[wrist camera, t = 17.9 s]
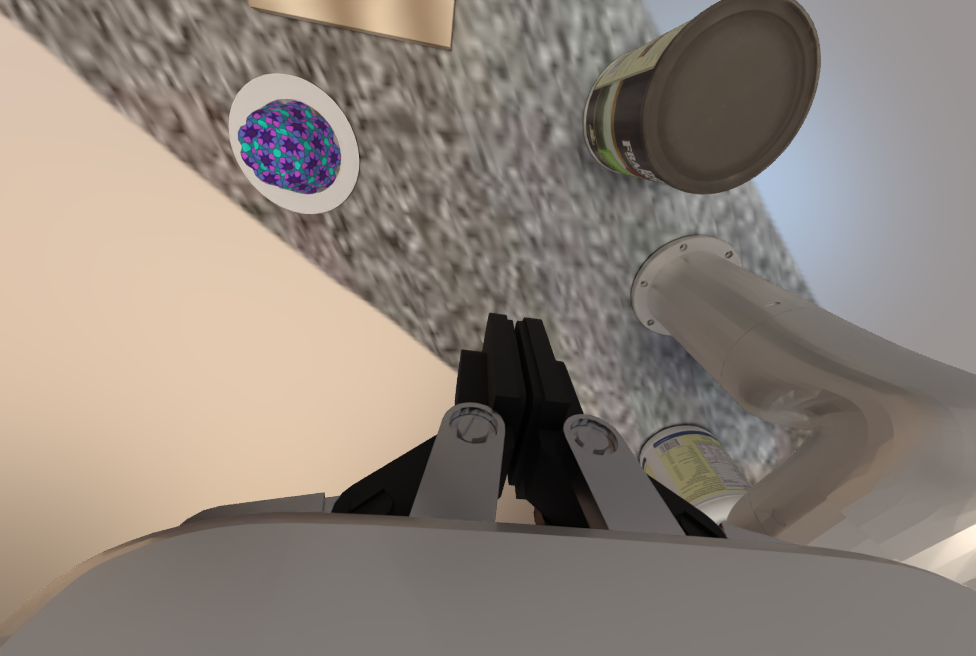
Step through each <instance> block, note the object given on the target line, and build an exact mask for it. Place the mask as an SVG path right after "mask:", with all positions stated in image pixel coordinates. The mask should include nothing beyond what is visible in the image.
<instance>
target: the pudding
mask: <svg viewBox="0 0 976 656" xmlns="http://www.w3.org/2000/svg"><path fill="white" fill-rule="evenodd" d="M277 99H294V100H297V101H301V102H297V101H292V102H290V103H287V104H285V105H284V104H282V103H280V102H278V101H277V102H272V103H269V102H271V101H274V100H277ZM302 102H303V103H305V104H307V105H309V106H311V107H312V108H314V109H315V110H317V111H318V112H319V113H320V114H321V115H322V116H323V117H324V118H325V119H326V120H327V121H326V120H325V119H324V118H321V117H317V116H314V115H313V113H312V111H311V110H310V108H309V107H308V106H307V105H305V104H303V103H302ZM268 103H269V104H268ZM266 104H267V105H266ZM329 124H330V125H329ZM330 126H331V127H332V129H333V131H334V132H335V135H336V137H337V139H338V142H339V146H340V149H339V148H338V147H337V145H336V144H335V143H334V142H333V131H332V129H331V127H330ZM229 136H230V142H231V145H232V149H233V152H234V155H235V157H236V160H237V162H238V164H239V166H240V167H241V169H242V171H243V173H244V174H245V176H246V177H247V178H248V179H249V181H250V182H251V183H252V185H253V186H254V187H255V188H256V189H257V190H258V191H259V192H260V193H261V194H263V195H264V196H265V197H267V198H268V199H269V200H270V201H272V202H274V203H276V204H277V205H279V206H281V207H283V208H286V209H288V210H291V211H294V212H298V213H304V214H317V213H323V212H326V211H329V210H332V209H334V208H335V207H337V206H339V205H340V204H341V203H342V202H343V201H345V200H346V199H347V197H348V196H349V194H350V193H351V192H352V190H353V188H354V185H355V183H356V180H357V176H358V172H359V153H358V146H357V143H356V139H355V135H354V133H353V131H352V128H351V126H350V124H349V122H348V120H347V118H346V117H345V115H344V113H343V112H342V111H341V109H340V108H339V107H338V106H337V104H336V103H335V102H334V101H333V100H332V99H331V98H330V97H329V96H328V95H327V94H326V93H325V92H324V91H322V90H321V89H319V88H318V87H317V86H315V85H314V84H312V83H310V82H308V81H306V80H304V79H302V78H299V77H296V76H292V75H289V74H278V73H274V74H267V75H263V76H260V77H257V78H255V79H253V80H251V81H250V82H249V83H247V84H246V85H244V87H243V88H242V89H241V90H240V91H239V92H238V94H237V96H236V98H235V100H234V101H233V103H232V107H231V111H230V115H229ZM340 150H341V154H340ZM340 161H341V167H340V172H339V174H338V176H337V179H336V180H335V178H336V175H335V170H334V169H335V168H336V167H337V166H339V165H340ZM334 180H335V181H334ZM333 182H334V183H333ZM330 185H331V186H330ZM329 186H330V187H329ZM319 187H329V188H328V189H326V190H324V191H323V192H320V193H317V194H313V193H316V192H317V190H318V188H319ZM293 191H295V192H300V193H305V194H300V193H295V192H293ZM309 194H310V195H309Z"/></svg>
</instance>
